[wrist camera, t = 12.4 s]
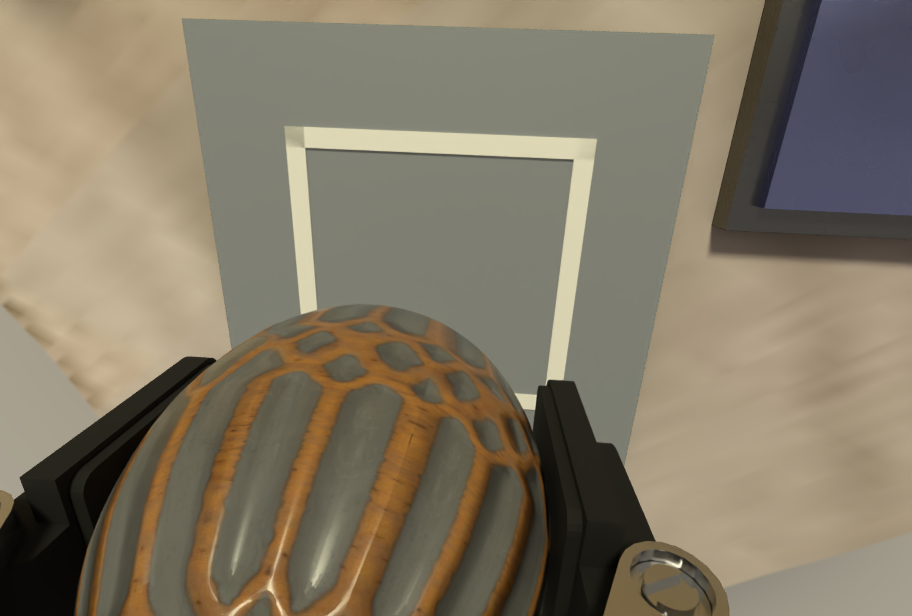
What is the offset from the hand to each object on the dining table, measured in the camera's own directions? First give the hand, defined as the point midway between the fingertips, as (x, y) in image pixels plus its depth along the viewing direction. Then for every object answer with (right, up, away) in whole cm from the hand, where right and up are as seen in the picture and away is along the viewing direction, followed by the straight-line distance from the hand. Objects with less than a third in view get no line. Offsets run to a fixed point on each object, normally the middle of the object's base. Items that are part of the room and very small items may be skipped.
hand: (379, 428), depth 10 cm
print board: (+1, +4, +11) cm, 12 cm away
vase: (0, +1, +1) cm, 2 cm away
